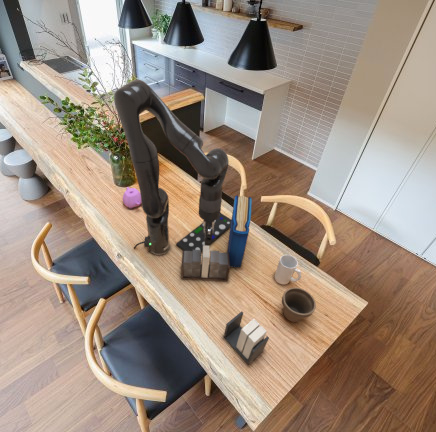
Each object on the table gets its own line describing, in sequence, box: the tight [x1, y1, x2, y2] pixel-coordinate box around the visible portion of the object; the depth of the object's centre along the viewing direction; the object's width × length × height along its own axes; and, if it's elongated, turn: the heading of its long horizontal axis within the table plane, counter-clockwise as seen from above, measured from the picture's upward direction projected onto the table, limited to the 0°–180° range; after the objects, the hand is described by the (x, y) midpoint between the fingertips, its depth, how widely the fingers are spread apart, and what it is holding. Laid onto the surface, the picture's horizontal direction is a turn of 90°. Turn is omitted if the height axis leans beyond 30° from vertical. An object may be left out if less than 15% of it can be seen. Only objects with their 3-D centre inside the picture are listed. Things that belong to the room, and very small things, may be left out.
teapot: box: [122, 186, 142, 209], centre depth 160 cm, size 10×15×9 cm
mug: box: [274, 254, 302, 285], centre depth 124 cm, size 10×7×12 cm, turn 42°
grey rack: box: [180, 250, 231, 282], centre depth 128 cm, size 19×8×12 cm, turn 86°
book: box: [226, 195, 253, 268], centre depth 131 cm, size 22×7×25 cm, turn 168°
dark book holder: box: [223, 310, 270, 366], centre depth 104 cm, size 12×8×15 cm, turn 38°
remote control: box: [175, 212, 232, 253], centre depth 147 cm, size 11×30×2 cm, turn 135°
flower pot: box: [281, 287, 317, 322], centre depth 114 cm, size 12×11×10 cm
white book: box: [201, 245, 211, 278], centre depth 126 cm, size 3×6×14 cm, turn 176°
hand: (207, 236), depth 115 cm, fingers open, 8 cm apart
